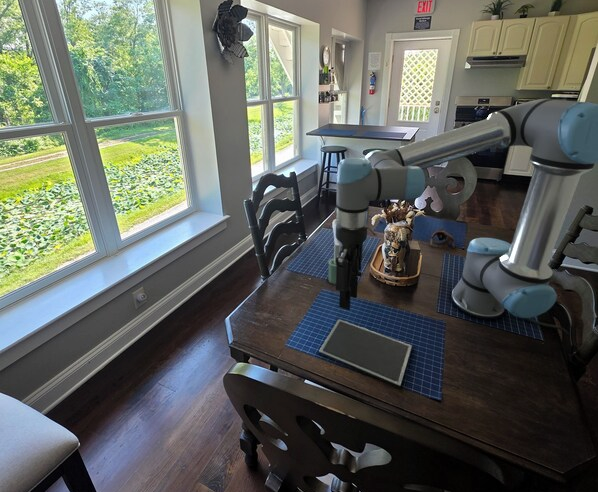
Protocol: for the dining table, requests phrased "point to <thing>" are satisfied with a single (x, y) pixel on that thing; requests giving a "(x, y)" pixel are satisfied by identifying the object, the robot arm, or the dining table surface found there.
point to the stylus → (336, 252)
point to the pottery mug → (441, 237)
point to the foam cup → (335, 234)
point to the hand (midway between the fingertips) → (348, 301)
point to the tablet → (367, 352)
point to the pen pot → (332, 271)
